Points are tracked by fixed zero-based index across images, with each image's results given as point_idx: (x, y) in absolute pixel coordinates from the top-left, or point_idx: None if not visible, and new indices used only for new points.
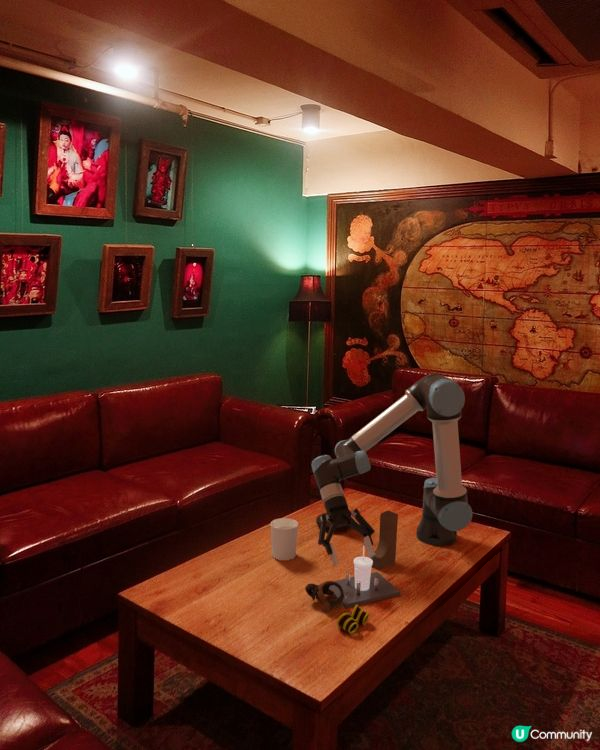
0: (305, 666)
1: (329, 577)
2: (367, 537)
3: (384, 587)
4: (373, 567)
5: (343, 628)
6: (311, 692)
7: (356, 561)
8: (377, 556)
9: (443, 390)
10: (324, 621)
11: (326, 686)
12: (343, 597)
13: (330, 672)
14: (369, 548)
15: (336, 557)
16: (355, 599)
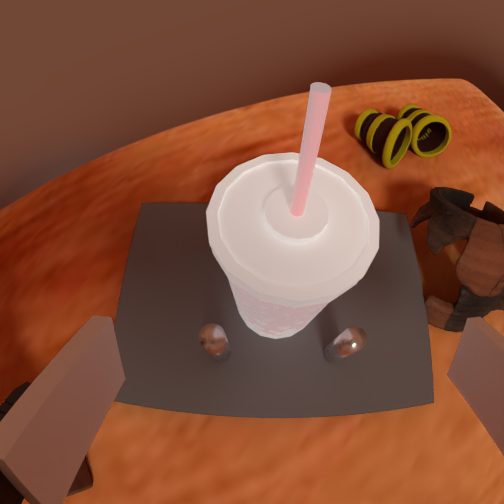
0: (490, 118)
1: (359, 482)
2: (10, 442)
3: (175, 253)
4: (86, 464)
5: (430, 134)
6: (476, 88)
7: (355, 236)
8: None
9: None
10: None
11: (460, 83)
12: (420, 208)
13: (455, 93)
14: (86, 385)
15: (494, 336)
16: None
